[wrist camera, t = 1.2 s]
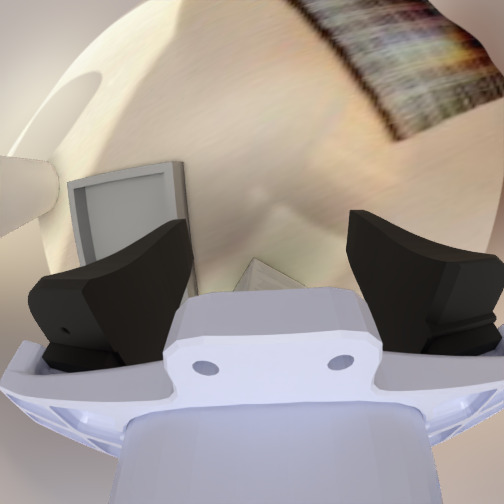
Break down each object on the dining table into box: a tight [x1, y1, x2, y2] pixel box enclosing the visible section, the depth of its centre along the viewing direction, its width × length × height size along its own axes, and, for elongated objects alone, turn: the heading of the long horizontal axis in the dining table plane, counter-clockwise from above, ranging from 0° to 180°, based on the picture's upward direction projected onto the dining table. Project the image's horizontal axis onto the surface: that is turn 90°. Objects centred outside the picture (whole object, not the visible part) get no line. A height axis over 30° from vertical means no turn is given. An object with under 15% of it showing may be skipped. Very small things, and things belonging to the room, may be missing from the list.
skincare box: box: [233, 258, 306, 292], centre depth 21 cm, size 6×4×12 cm
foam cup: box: [0, 156, 59, 238], centre depth 19 cm, size 10×9×13 cm
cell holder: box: [67, 162, 198, 308], centre depth 27 cm, size 27×12×3 cm, turn 4°
